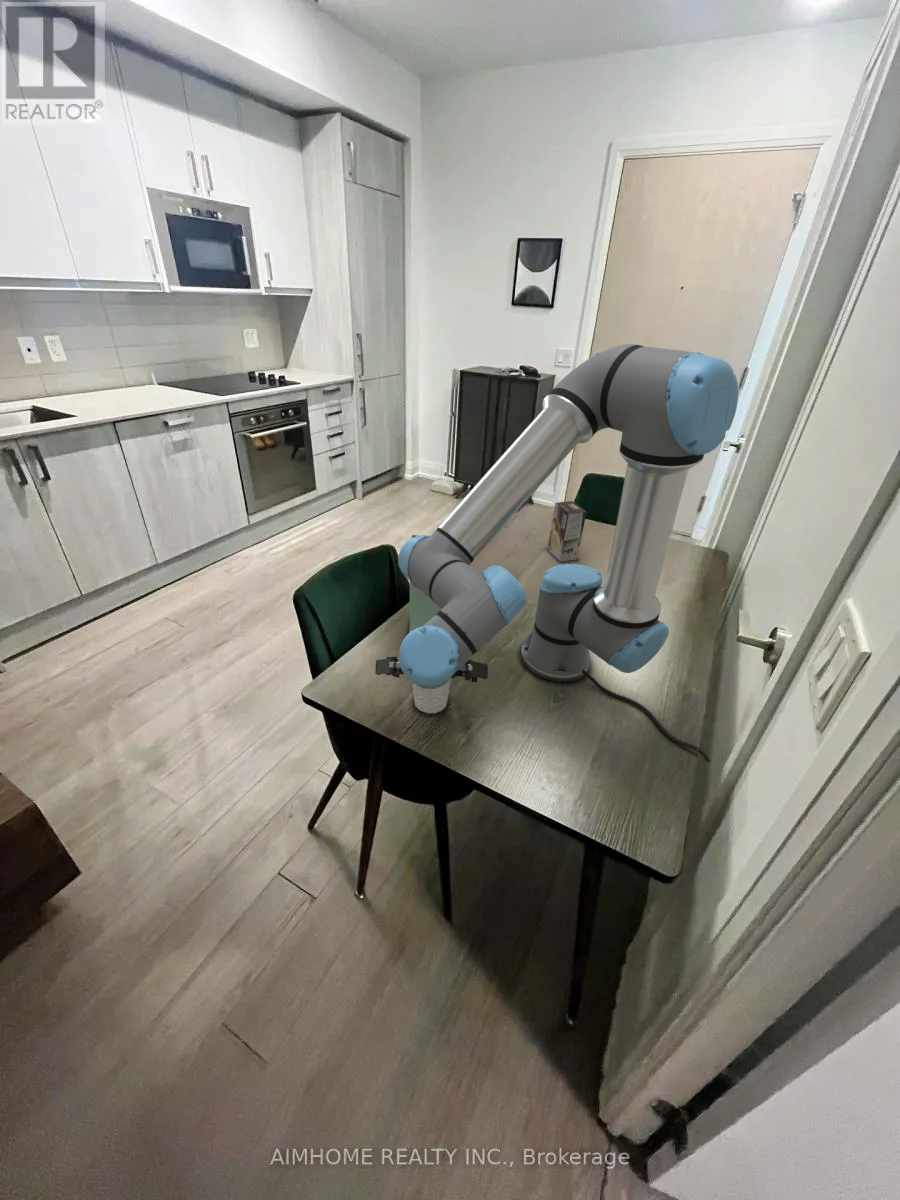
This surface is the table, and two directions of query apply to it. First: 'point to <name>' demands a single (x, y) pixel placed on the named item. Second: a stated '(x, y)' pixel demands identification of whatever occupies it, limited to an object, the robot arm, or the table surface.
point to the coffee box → (566, 530)
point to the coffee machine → (420, 607)
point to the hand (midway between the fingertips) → (432, 671)
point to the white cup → (431, 698)
